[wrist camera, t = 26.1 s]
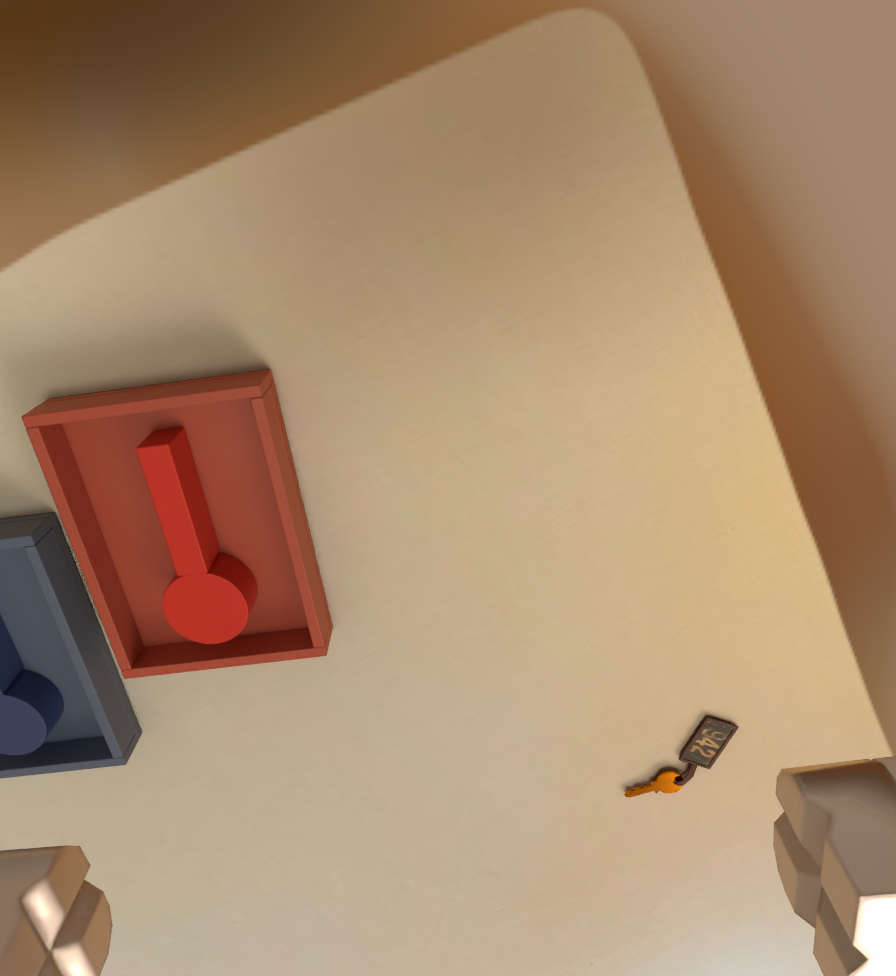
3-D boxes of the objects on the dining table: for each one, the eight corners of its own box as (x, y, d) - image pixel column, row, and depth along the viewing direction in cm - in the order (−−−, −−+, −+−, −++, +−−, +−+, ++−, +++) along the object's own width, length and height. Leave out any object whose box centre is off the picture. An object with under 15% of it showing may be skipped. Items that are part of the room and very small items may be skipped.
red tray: (47, 398, 37) (20, 416, 34) (271, 368, 36) (259, 384, 34) (141, 650, 43) (123, 679, 41) (333, 627, 43) (326, 656, 40)
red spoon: (125, 433, 37) (104, 451, 35) (212, 422, 37) (197, 440, 35) (188, 624, 42) (174, 651, 39) (265, 615, 41) (256, 641, 39)
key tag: (712, 710, 45) (715, 717, 44) (748, 732, 46) (751, 739, 45) (622, 793, 48) (624, 800, 47) (657, 812, 49) (660, 820, 48)
